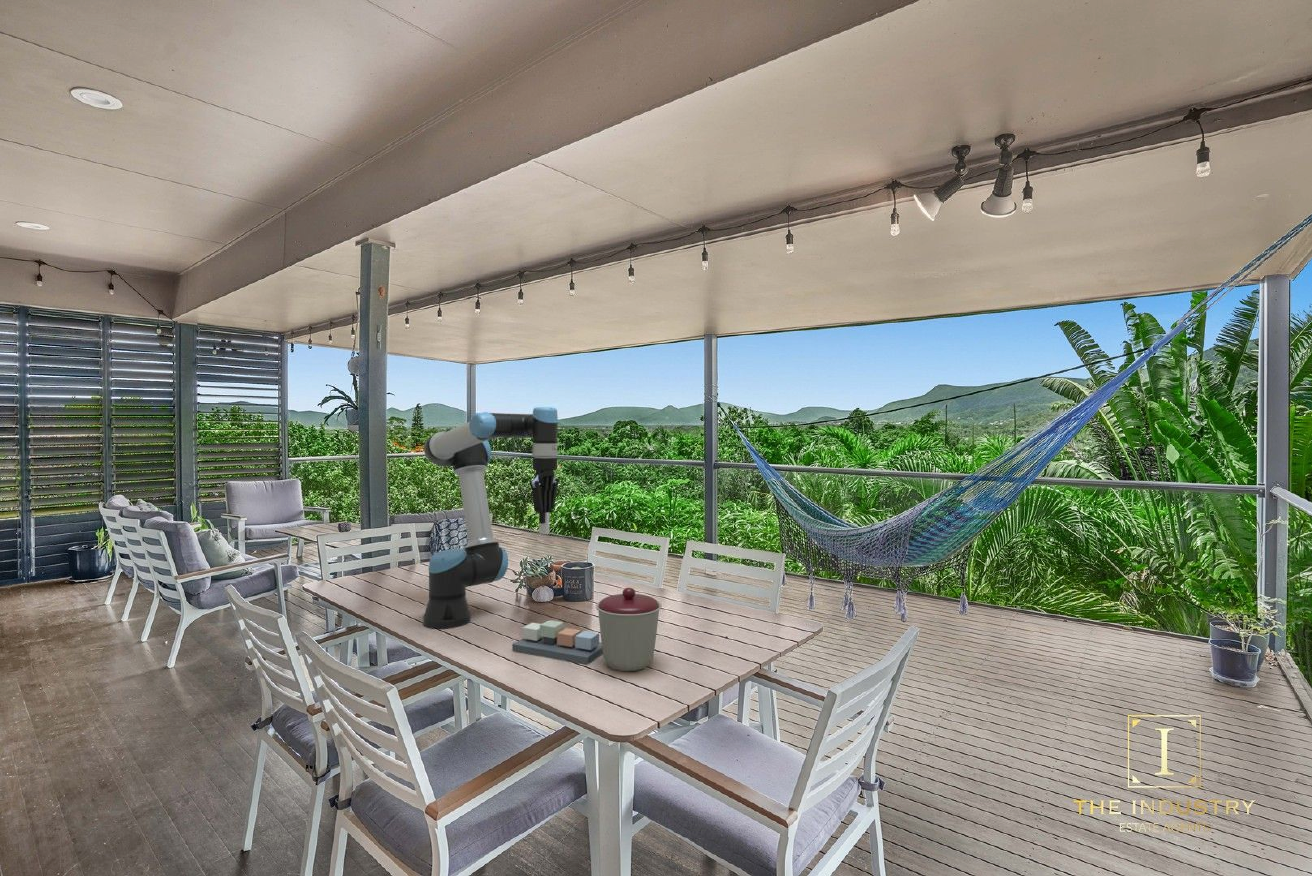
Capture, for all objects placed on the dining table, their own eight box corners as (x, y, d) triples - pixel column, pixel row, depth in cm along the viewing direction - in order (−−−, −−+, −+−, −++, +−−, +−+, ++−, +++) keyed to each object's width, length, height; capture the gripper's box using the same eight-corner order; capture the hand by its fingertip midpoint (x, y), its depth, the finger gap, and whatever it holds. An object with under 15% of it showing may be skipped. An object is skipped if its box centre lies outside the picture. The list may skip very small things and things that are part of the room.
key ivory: (522, 638, 176) (522, 627, 176) (532, 633, 181) (532, 622, 181) (536, 640, 174) (536, 629, 174) (546, 635, 179) (546, 624, 179)
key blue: (575, 647, 169) (575, 636, 169) (584, 641, 174) (584, 630, 174) (590, 650, 167) (590, 638, 167) (599, 644, 172) (599, 633, 172)
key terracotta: (557, 644, 171) (557, 633, 171) (566, 638, 176) (566, 628, 176) (572, 646, 169) (572, 635, 169) (581, 641, 174) (581, 630, 174)
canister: (625, 647, 177) (626, 576, 177) (674, 663, 165) (675, 587, 165) (581, 665, 163) (582, 588, 163) (630, 683, 151) (631, 601, 151)
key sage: (539, 635, 174) (539, 625, 174) (549, 630, 178) (549, 620, 178) (554, 638, 172) (554, 627, 172) (563, 633, 176) (563, 622, 176)
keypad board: (512, 651, 173) (512, 636, 173) (536, 638, 184) (536, 624, 184) (587, 664, 164) (587, 649, 163) (607, 650, 175) (608, 636, 175)
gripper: (543, 458, 177) (542, 537, 177) (566, 456, 189) (565, 531, 189) (522, 457, 179) (521, 535, 180) (546, 456, 191) (545, 529, 192)
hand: (544, 533), depth 184 cm, fingers closed
